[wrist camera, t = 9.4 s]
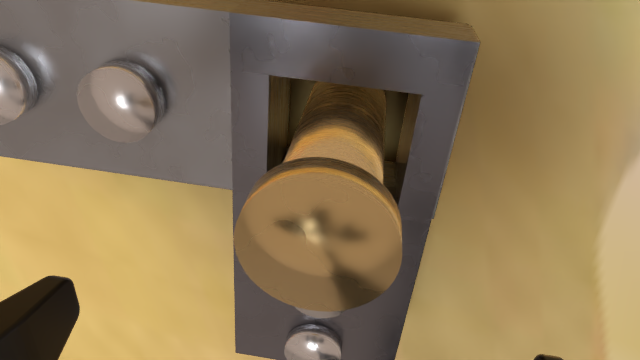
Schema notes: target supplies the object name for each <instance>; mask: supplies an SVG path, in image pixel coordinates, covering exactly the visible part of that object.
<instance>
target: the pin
mask: <svg viewBox="0 0 640 360" xmlns="http://www.w3.org/2000/svg"><path fill="white" fill-rule="evenodd" d="M385 117H386V97H385V93H384V90H382V89H374V88H366V87H359V86H351V85H343V84H335V83H327V82H320V81H317V82H316V83H315V85H314V87H313V89H312V91H311V94H310V97H309V99H308V102H307V104H306V107H305V109H304V112H303V114H302V117H301V119H300V122H299V124H298V127H297V129H296V132H295V134H294V137H293V139H292V142H291V144H290V147H289V149H288V152H287V154H286V157H285V159H284V162H283V163H282V164H280V165H277V166H276V167H274V168H272V169H271V170H269V171H268V172H267V173H265V174H264V175H263V176H262V177H261V178H260V179H259V180H258V181H257V182H256V183H255V185H254V186H253V188H252V189H251V191H250V193H249V196H248V198H247V200H246V202H245V204H244V206H243V208H242V210H241V213H240V215H239V217H238V219H237V222H236V226H235V230H234V246H235V251H236V255H237V257H238V260H239V262H240V264H241V266H242V268H243V269H244V271H245V272H246V274H247V275H248V276H249V278H250V279H251V280H252V281H253V282H254V283H255V284H256V285H257V286H258V287H260V288H261V289H262V290H263V291H265V292H266V293H268V294H269V295H271V296H272V297H274V298H276V299H278V300H280V301H282V302H284V303H286V304H289V305H292V306H295V307H298V308H302V309H307V310H313V311H326V312H331V311H342V310H348V309H352V308H356V307H359V306H362V305H364V304H366V303H369V302H370V301H372V300H374V299H376V298H377V297H378V296H380V295H381V294H383V293H384V292H385V291H386V290H387V289H388V288H389V287H390V285H391V284H392V283H393V281H394V280H395V278H396V276H397V274H398V272H399V269H400V266H401V261H402V223H401V216H400V212H399V209H398V206H397V203H396V202H395V200H394V198H393V196H392V195H391V193H390V192H389V191H388V189H387V188H386V187H385V186H384V185H383V171H384V144H385Z"/></svg>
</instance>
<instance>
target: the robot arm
mask: <svg viewBox="0 0 640 360" xmlns="http://www.w3.org/2000/svg"><path fill="white" fill-rule="evenodd" d="M79 311H80V307H79V302H78V299H77V295H76V291H75V288H74V284H73V282H72V280H71V279H69V278H66V277H60V276H47V277H45V278H43V279H41V280H39V281H38V282H36V283H34V284H32V285H30V286H28V287H27V288H25V289H23V290H21V291H19V292H18V293H16V294H14V295H12V296H10V297H9V298H7V299H5V300H3V301H1V302H0V360H58V359H59V356H60V354H61V352H62V350H63V348H64V346H65V344H66V342H67V340H68V338H69V336H70V333H71V331H72V329H73V327H74V325H75V323H76V321H77V319H78V316H79ZM534 360H563V359H562V358H560V357H556V356H550V355H544V354H539V355H537V356H536V357H535V359H534Z"/></svg>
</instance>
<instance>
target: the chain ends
mask: <svg viewBox="0 0 640 360" xmlns="http://www.w3.org/2000/svg"><path fill="white" fill-rule="evenodd" d="M479 46H480V40H479V39H478V37H477V35H476V33H475V31H474V29H473V28H472V26H469V24H463V23H455V22H446V21H438V20H429V19H421V18H412V17H404V16H395V15H387V14H378V13H370V12H361V11H353V10H344V9H336V8H327V7H318V6H310V5H301V4H293V3H284V2H276V1H267V0H0V156H3V157H10V158H16V159H23V160H30V161H37V162H44V163H51V164H58V165H65V166H72V167H78V168H85V169H92V170H99V171H106V172H113V173H120V174H127V175H134V176H140V177H147V178H154V179H161V180H168V181H175V182H182V183H189V184H196V185H202V186H209V187H216V188H223V189H230V190H233V238H234V230H235V226H236V222H237V219H238V217H239V215H240V213H241V210H242V208H243V206H244V204H245V202H246V200H247V198H248V196H249V193H250V191H251V189H252V188H253V186H254V185H255V183H256V182H257V181H258V180H259V179H260V178H261V177H262V176H263V175H264V174H265V173H267V172H268V171H269V170H271V169H272V168H274V167H276V166H277V165H280V164H282V163H283V162H284V159H285V157H286V154H287V152H288V149H289V147H287V141H288V122H289V103H290V84H291V78H296V79H304V80H312V81H320V82H327V83H335V84H343V85H351V86H359V87H366V88H374V89H382V90H390V91H398V92H406V93H409V95H408V100H407V105H406V110H405V115H404V120H403V125H402V131H401V136H400V141H399V146H398V151H397V156H396V161H395V162H393V161H385V160H384V171H383V185H384V186H385V187H386V188H387V189H388V191H389V192H390V193H391V195H392V196H393V198H394V200H395V202H396V203H397V206H398V209H399V212H400V216H401V223H402V261H401V266H400V269H399V272H398V274H397V276H396V278H395V280H394V281H393V283H392V284H391V285H390V287H389V288H388V289H387V290H386V291H385V292H384V293H383V294H381V295H380V296H378V297H377V298H376V299H374V300H372V301H370V302H369V303H366V304H364V305H362V306H359V307H356V308H352V309H348V310H342V311H331V312H326V311H313V310H307V309H302V308H298V307H295V306H292V305H289V304H286V303H284V302H282V301H280V300H278V299H276V298H274V297H272V296H271V295H269V294H268V293H266V292H265V291H263V290H262V289H261V288H260V287H258V286H257V285H256V284H255V283H254V282H253V281H252V280H251V279H250V278H249V276H248V275H247V274H246V272H245V271H244V269H243V268H242V266H241V264H240V262H239V260H238V257H237V255H236V251H235V246H234V291H235V345H236V353H240V354H246V355H252V356H258V357H264V358H270V359H276V360H395V356H396V352H397V349H398V345H399V341H400V337H401V333H402V330H403V326H404V322H405V318H406V314H407V311H408V307H409V303H410V299H411V295H412V291H413V288H414V284H415V280H416V276H417V272H418V269H419V265H420V261H421V257H422V253H423V250H424V246H425V242H426V238H427V234H428V231H429V227H430V223H431V219H434V215H435V211H436V208H437V204H438V200H439V196H440V193H441V189H442V185H443V181H444V177H445V174H446V170H447V166H448V162H449V159H450V155H451V151H452V147H453V144H454V140H455V136H456V132H457V128H458V125H459V121H460V117H461V113H462V110H463V106H464V102H465V98H466V95H467V91H468V87H469V83H470V79H471V76H472V72H473V68H474V64H475V61H476V57H477V53H478V49H479Z"/></svg>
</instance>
